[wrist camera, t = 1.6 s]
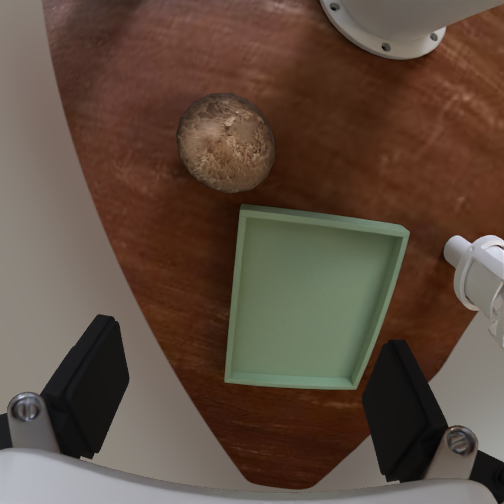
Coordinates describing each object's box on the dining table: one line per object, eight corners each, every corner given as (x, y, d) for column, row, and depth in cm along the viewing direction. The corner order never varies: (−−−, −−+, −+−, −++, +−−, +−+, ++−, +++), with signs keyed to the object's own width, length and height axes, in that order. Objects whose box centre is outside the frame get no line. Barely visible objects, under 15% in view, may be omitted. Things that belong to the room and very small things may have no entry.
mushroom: (165, 201, 25) (187, 182, 19) (165, 111, 25) (186, 73, 19) (254, 201, 28) (295, 186, 23) (248, 119, 29) (285, 90, 23)
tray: (241, 203, 28) (239, 209, 26) (401, 225, 28) (410, 232, 26) (225, 370, 35) (224, 382, 33) (352, 377, 35) (356, 389, 33)
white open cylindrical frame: (416, 249, 29) (502, 336, 15) (462, 203, 27) (565, 262, 13) (445, 291, 31) (519, 377, 17) (487, 248, 29) (573, 317, 15)
